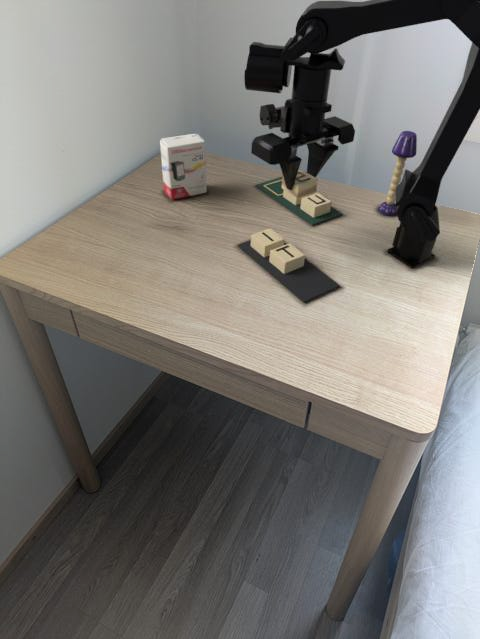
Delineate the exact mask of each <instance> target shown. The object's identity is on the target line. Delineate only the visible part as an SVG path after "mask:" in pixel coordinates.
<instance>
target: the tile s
mask: <svg viewBox="0 0 480 639" xmlns="http://www.w3.org/2000/svg"><path fill="white" fill-rule="evenodd" d="M282 177H283V176H282ZM318 180H319V179H318V178H317V177H316V178H315V177H313V176H312V175H310V174H308V173H307V171H305V170H303V169H299V170H298V173H297V176H296V180H295V183H294V185H293V188H292V190H289V189H287V188H286V184H285V181H284V177H283V178H282V189H284V190H285V191H287V192H289V193H290V194H292V195H293V196H295V197H296V198H299V197H302V196H305V195H308V194H311V193H312V194H315V193H317V188H318Z"/></svg>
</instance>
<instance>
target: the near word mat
mask: <svg viewBox="0 0 480 639" xmlns="http://www.w3.org/2000/svg"><path fill="white" fill-rule="evenodd" d="M237 247H238V248H239V249H240V250H241V251H243V252H244V253H245V254H246V255H247V256H249V257H250V258H251V259H252V260H253V261H254V262H255V263H257V264H258V265H259V266H260V267H261V268H262V269H264V270H265V271H266V272H267V273H268V274H270V276H272V277H273V278H274V279H275V280H276V281H278V282H279V283H280V284H281V286H283V287H284V288H286V289H287V290H288V291H289V292H290V293H291V294H293V295H294V297H296V298H297V299H298V300H299V301H301V302H302V303H303V304H307V303H308V302H310V301H312V300H314V299H315V300H316V299H317V298H319V297H321V296H323V295H325V294H328V293H330V292H333V291H335V290H337V289H339V288H340V287H341V285H340V284H339V283H338V282H336V281H335V280H333V279H332V278H331V277H329V276H328V275H327V274H326V273H324V271H322V270H321V269H319V268H318V267H317V266H315V265H314V264H313V263H312V262H310V261H309V260H308V259H306V254H305V253H304V252H302V251H301V250H299V249H298V248H297V247H296V246H294V245H293V244H292V243H286V242H285V238H284V237H282V236H281V235H280V234H279V233H277V232H276V231H275V230H273V228H267V229H264V230H261V231H258V232H255V233H253V234H252V233H251V234H250V240H247V241H244V242H241V243H239V244H237Z"/></svg>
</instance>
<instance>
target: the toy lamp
mask: <svg viewBox="0 0 480 639" xmlns="http://www.w3.org/2000/svg"><path fill="white" fill-rule="evenodd" d="M417 144H418V135H417V133H416V132H414V131H411V130H403V131H401V132H400V133H399V136H398V137H397V138H396V140H395V143H394V145H393V147H392V149H391V153H392V154H393V155H394V156H396V159H397V161H396V162H395V165H394V166H395V168H394V170H393V175H392V176H391V183H390V185H389V190H388V192H387V198H386V201H383V202H381V203H380V204H379V206H378V208H377V211H378V212H379V213H380V214H381V215H384V216H389V217H391V216H393V217H394V216H397V206H396V205H395V201H396V187H397V186H398V185H399V184H400V183H401V181H402V175H403V174H404V168H405V166H406V161H407V159H412V158H414V157H416V155H417V150H418V148H417V147H418V145H417Z"/></svg>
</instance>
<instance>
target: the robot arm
mask: <svg viewBox="0 0 480 639" xmlns="http://www.w3.org/2000/svg"><path fill="white" fill-rule="evenodd" d="M442 20H448V21H450V22H451V23H452V24H453V25H455V27H456V28H457V29H458V30H459V31H460V32H461V33H462V34H463V35H464V36H465V37H466V38H467V39H468V40H469V41H470V42H471V45H470V49H469V51H468V56H467V59H466V64H465V68H464V72H463V75H462V80H461V82H460V84H459V86H458V88H457V90H456V92H455V94H454V96H453V98H452V100H451V102H450V105H449V106H448V109H447V110H446V112H445V114H444V116H443V118H442V120H441V123H440V125H439V126H438V128H437V130H436V132H435V134H434V136H433V139H432V140H431V142H430V144H429V146H428V148H427V151H426V152H425V154H424V156H423V158H422V160H421V161H420V164H419V165H418V166H417V167H416V168H415V169H414V170H413V171H411V170H408V169H407V168H405V170H404V171H403V174H402V175H403V176H402V178H401V181H400V183H399V185H398V186H397V187H396V197H395V205H396V206H397V214H396V217H397V219H398V221H399V226H397V227H396V230H395V233H394V237H393V241H392V246H391V247H389V248H388V249H387V250H386V253H387V254H389V255H390V256H392V257H393V258H394V259H396V260H398V261H399V262H401V263H403V264H404V265H405V266H407V267H409V268H410V269H415V268H417V267H419V266H421V265H424V264H426V263H428V262H430V261H433V260H434V259H435V258H436V255H435V254H434V253H433V250H434V247H435V245H436V241H437V238H438V236H439V235H440V234H441V229H440V218H439V216H440V215H439V208H438V206H437V204H436V203H437V200H438V195H439V192H440V188H441V183H442V180H443V178H444V176H445V174H446V173H447V170H448V169H449V167H450V165H451V163H452V161H453V159H454V158H455V156H456V154H457V152H458V151H459V149H460V146H462V143H463V141H464V139H465V137H466V135H467V134H468V132H469V130H470V128H471V127H472V124H473V123H474V121H475V119H476V117H477V116H478V114H479V112H480V0H365V1H349V0H317V1H315V2H313V3H310V4H309V5H308V6H307V7H306V8H305V10H304V11H303V12H302V14H301V15H300V17H299V18H298V20H297V22H296V26H295V34H294V36H293V37H290V38H288V40H287V41H286V43H285V44H284V45H277V44H266V43H263V42H261V41H260V42H259V41H253V42H252V43H251V44H250V45H249V49H248V50H249V52H248V56H247V60H246V66H245V70H244V77H243V78H244V80H243V81H244V88H245V89H246V90H247V91H253V92H263V93H274V94H281V93H282V92H283V90H284V88H289V86H290V83H291V78H292V69H293V68H294V69H293V79H292V90H291V98H288V99H286V100H285V101H284V105H282V106H278V107H276V105H275V104H274V103H270V104H269V103H267V104H264V105H261V106H260V109H259V121H260V124H261V125H262V126H268V130H273V129H274V128H280V130H279V131H280V132H282V133H283V134H288V136H286V137H281V136H279V135H277V134H275V133H273V132H270V133H265V134H262V135H258V136H255V137H254V138H253V139H252V141H251V148H250V149H251V150H250V151H251V152H250V153H251V154H252V155H253V156H255V157H257V158H259V159H260V160H262V161H263V162H265V163H267V164H268V165H273V166H276V165H279V167H280V170H281V173H282V177H284V181H285V184H286V188H287V189H289V190H292V188H293V185H294V183H295V180H296V176H297V173H298V171H299V170H300V166H301V163H302V158H301V157H300V156H297V154H298V148H300V147H303V146H306V147H307V150H308V154H307V164H306V165H307V167H306V172H307V173H308V174H310V175H312V176H313V177H315V178H317V176H318V175H319V173H320V172H321V170H322V169H323V168H324V166H325V165H326V164H327V162H328V161H329V160H330V158H331V157H332V156H333V154H334V153H335V152H336V151H338V150H339V149H340V148H339V146H338V145H337V144H335V143H334V142H335V140H334V137H337V141H338V143H339V144H341V145H346V144H349V143H350V144H351V143H353V142H354V140H355V134H356V130H355V126H354V125H353V123H351V122H349V121H347V120H345V119H342V118H340V117H337V116H331V117H330V116H329V117H326V113H330V112H331V113H332V107H333V105H332V104H331V103H329V102H328V96H329V89H330V81H331V74H332V71H342V70H343V69H344V68H345V67H344V66H345V64H346V60H345V59H344V58H343V57H342V55H341V54H340V53H339V49H338V48H337V47H339V46H341V45H343V44H345V43H347V42H350V41H351V40H353V39H355V38H357V37H358V38H359V37H361V36H363V35H368V34H373V33H379V32H384V31H389V30H396V29H401V28H405V27H411V26H416V25H420V24H421V25H422V24H427V23H432V22H436V21H442ZM331 49H333V50H332V51H330V52H329V53H323V52H326V51H328V50H331ZM307 53H308V54H309V56H304V55H306V54H307Z"/></svg>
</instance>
